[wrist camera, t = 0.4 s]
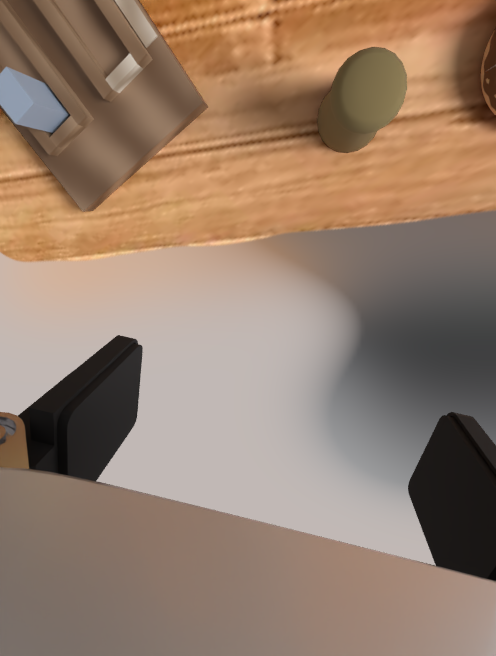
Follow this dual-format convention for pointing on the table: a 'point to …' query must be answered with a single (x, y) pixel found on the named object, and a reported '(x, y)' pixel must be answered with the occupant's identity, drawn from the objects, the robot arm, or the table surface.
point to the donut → (489, 73)
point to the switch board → (98, 88)
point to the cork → (362, 99)
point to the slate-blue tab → (30, 102)
